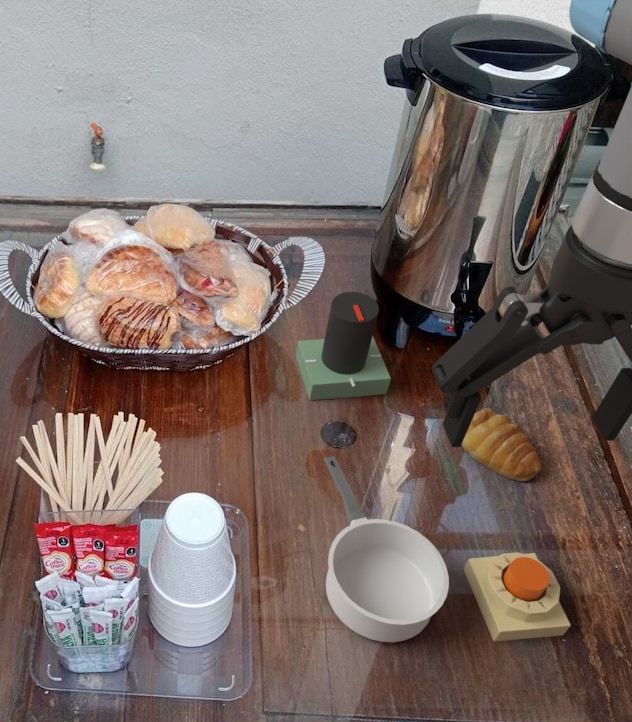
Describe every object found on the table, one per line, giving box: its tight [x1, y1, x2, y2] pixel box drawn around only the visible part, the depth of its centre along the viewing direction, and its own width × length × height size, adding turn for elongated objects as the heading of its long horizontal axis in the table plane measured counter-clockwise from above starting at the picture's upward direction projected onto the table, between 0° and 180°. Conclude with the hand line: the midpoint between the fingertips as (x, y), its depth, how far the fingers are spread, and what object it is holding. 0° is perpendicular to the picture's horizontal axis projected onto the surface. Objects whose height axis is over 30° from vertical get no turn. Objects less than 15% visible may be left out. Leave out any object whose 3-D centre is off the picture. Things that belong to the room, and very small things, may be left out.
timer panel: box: [295, 335, 392, 401], centre depth 100 cm, size 10×10×3 cm
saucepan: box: [323, 455, 450, 643], centre depth 81 cm, size 12×20×6 cm, turn 13°
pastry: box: [461, 407, 542, 482], centre depth 90 cm, size 9×7×4 cm
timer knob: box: [321, 291, 380, 374], centre depth 96 cm, size 6×6×9 cm
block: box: [463, 551, 572, 642], centre depth 77 cm, size 7×8×4 cm
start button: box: [504, 557, 549, 601], centre depth 75 cm, size 4×4×2 cm
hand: (526, 432), depth 69 cm, fingers open, 13 cm apart
